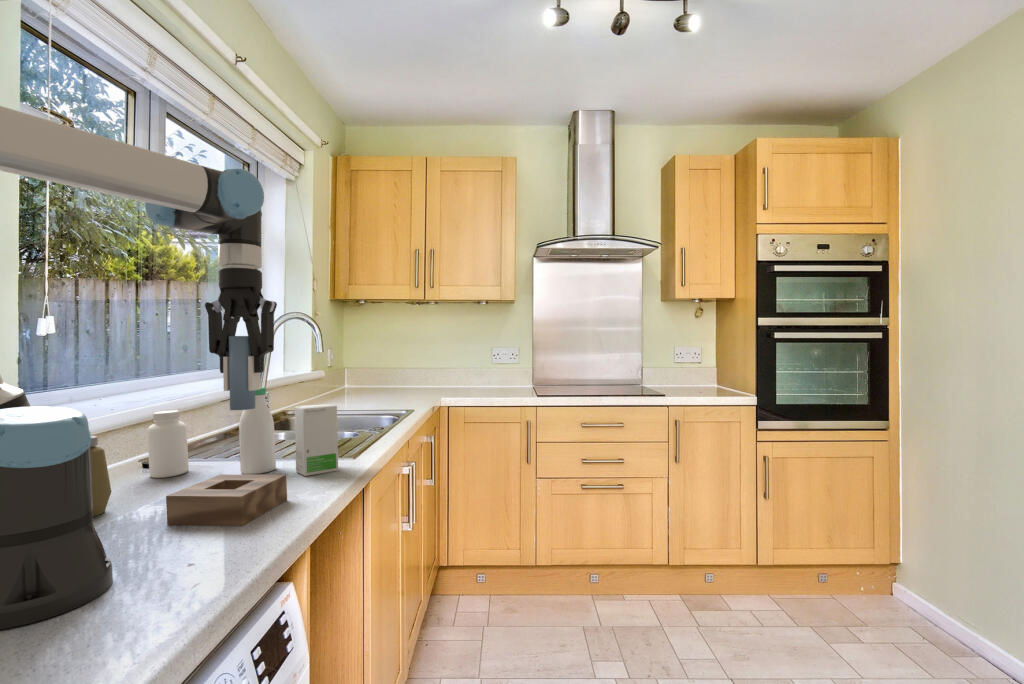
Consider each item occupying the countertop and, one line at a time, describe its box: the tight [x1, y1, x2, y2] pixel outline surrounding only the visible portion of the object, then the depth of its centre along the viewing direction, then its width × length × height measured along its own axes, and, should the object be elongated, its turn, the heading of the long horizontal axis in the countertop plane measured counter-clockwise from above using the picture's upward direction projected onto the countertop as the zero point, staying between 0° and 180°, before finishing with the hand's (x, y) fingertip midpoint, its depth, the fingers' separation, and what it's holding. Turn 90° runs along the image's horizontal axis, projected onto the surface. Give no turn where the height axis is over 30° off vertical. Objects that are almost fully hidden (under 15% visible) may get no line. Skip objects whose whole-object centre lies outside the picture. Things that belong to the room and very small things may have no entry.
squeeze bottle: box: [90, 435, 112, 517], centre depth 100 cm, size 8×8×18 cm
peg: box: [229, 335, 255, 411], centre depth 104 cm, size 4×4×14 cm
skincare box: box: [294, 403, 339, 477], centre depth 128 cm, size 8×7×16 cm
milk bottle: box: [238, 386, 277, 475], centre depth 129 cm, size 8×8×20 cm
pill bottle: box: [146, 409, 189, 479], centre depth 129 cm, size 8×8×15 cm
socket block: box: [165, 473, 288, 527], centre depth 99 cm, size 14×14×5 cm
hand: (242, 389), depth 104 cm, fingers closed on peg, 4 cm apart
